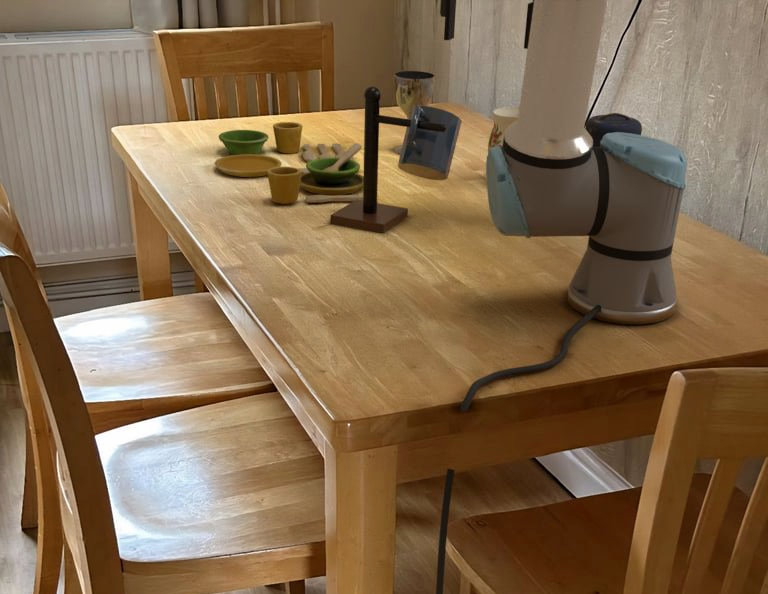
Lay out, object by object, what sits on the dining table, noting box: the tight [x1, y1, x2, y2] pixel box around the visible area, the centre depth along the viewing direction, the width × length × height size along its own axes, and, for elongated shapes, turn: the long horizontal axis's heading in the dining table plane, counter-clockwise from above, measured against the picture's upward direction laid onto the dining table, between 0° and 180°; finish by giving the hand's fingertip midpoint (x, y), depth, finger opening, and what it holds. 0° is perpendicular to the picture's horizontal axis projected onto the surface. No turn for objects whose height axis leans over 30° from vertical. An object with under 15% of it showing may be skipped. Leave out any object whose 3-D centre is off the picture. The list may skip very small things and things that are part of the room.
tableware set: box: [214, 121, 364, 205], centre depth 202 cm, size 41×28×6 cm
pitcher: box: [487, 106, 520, 152], centre depth 199 cm, size 11×18×14 cm, turn 17°
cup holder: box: [330, 85, 446, 234], centre depth 174 cm, size 10×18×22 cm, turn 65°
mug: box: [397, 106, 462, 181], centre depth 174 cm, size 13×9×10 cm
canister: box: [584, 112, 643, 147], centre depth 181 cm, size 10×10×18 cm
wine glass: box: [393, 70, 435, 155], centre depth 216 cm, size 8×8×15 cm
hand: (488, 43), depth 171 cm, fingers open, 13 cm apart
